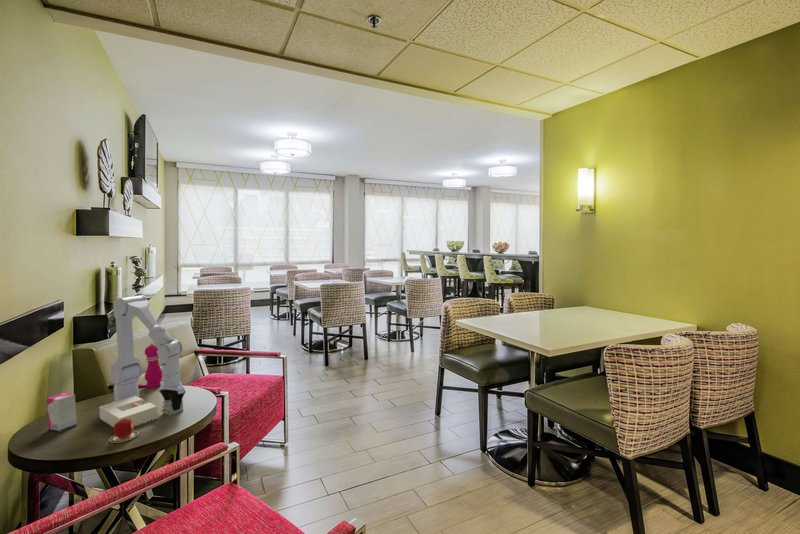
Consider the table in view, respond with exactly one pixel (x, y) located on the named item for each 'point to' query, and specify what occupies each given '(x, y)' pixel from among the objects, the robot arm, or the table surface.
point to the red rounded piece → (123, 431)
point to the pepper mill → (153, 367)
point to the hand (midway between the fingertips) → (173, 408)
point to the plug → (170, 407)
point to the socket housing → (128, 411)
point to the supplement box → (61, 412)
